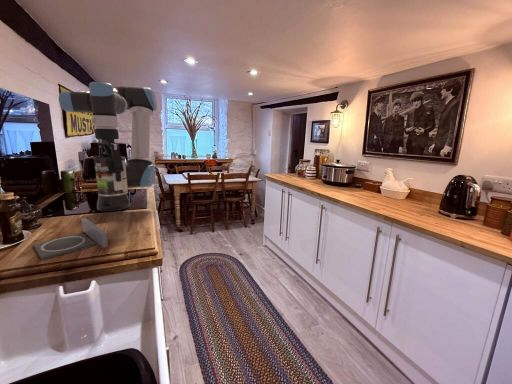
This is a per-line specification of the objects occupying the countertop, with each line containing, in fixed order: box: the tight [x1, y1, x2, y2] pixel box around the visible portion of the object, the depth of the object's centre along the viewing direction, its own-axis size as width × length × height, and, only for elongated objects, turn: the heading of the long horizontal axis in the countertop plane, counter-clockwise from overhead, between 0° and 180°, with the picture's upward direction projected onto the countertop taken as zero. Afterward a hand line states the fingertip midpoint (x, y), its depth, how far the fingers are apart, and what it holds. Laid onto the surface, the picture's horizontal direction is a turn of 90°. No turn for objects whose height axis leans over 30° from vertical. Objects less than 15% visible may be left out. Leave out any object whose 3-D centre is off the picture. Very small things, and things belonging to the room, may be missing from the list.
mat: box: [32, 232, 96, 261], centre depth 84 cm, size 14×14×1 cm
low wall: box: [80, 217, 109, 249], centre depth 91 cm, size 22×2×5 cm, turn 49°
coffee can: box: [93, 155, 129, 197], centre depth 95 cm, size 10×10×14 cm
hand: (113, 187), depth 96 cm, fingers closed on coffee can, 10 cm apart
